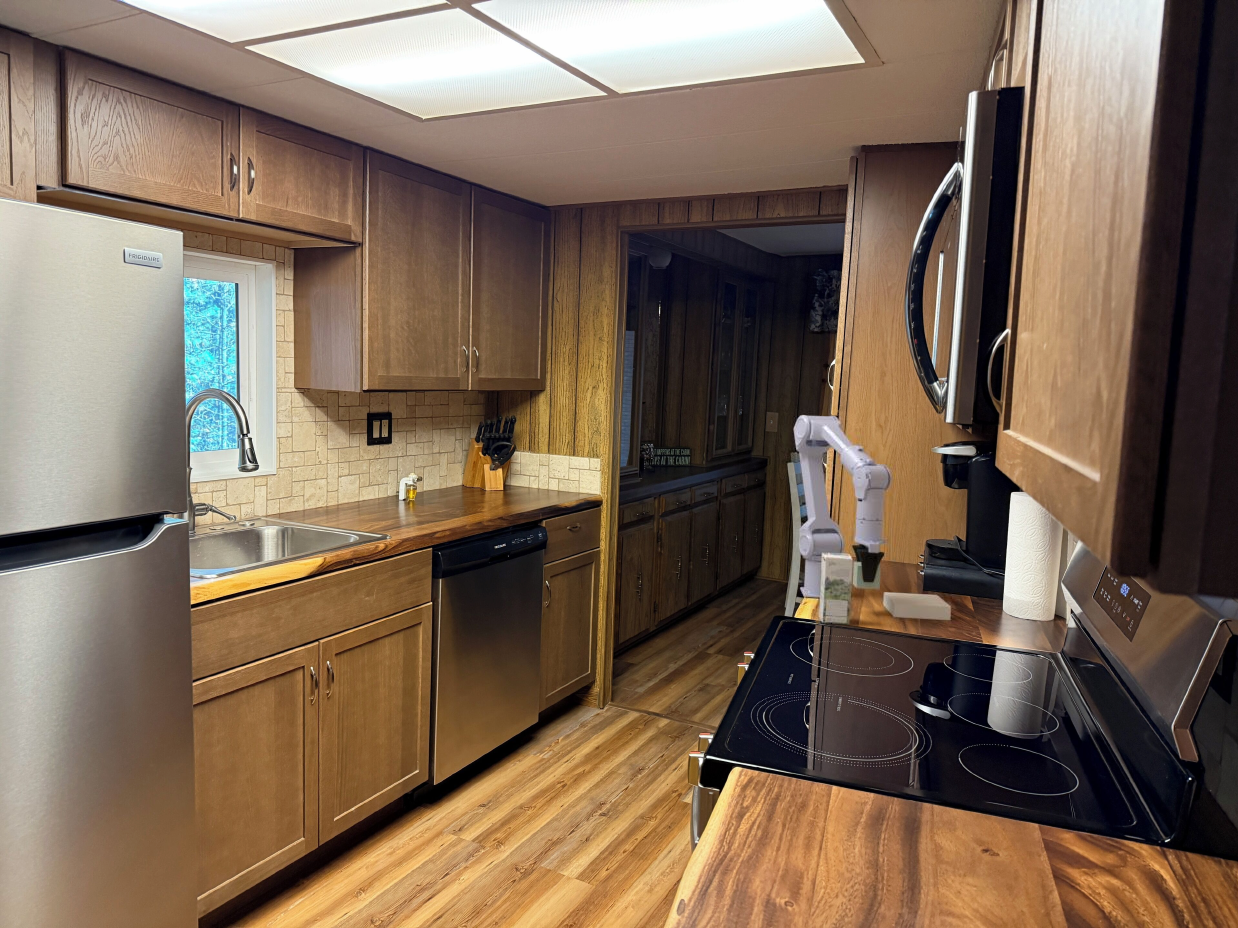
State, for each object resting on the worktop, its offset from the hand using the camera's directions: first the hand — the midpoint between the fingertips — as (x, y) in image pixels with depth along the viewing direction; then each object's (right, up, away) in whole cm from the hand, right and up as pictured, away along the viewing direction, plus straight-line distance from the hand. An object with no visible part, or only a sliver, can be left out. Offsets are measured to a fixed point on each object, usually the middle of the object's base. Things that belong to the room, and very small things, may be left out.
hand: (866, 579), depth 190 cm
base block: (+12, -8, +3) cm, 15 cm away
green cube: (0, -2, 0) cm, 2 cm away
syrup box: (-9, -8, -8) cm, 14 cm away
